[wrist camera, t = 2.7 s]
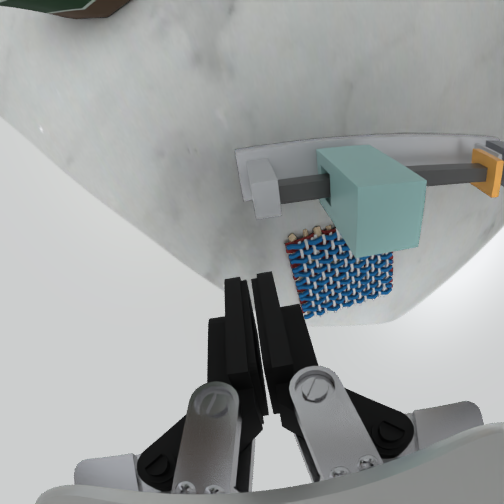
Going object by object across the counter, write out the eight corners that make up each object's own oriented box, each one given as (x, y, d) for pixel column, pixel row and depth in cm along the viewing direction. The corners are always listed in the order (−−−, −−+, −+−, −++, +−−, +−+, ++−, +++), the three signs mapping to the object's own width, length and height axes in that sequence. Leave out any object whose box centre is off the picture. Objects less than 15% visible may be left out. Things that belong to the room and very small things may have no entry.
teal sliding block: (368, 144, 19) (426, 180, 13) (368, 195, 21) (417, 246, 15) (316, 148, 19) (357, 187, 13) (319, 201, 21) (355, 258, 15)
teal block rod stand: (496, 137, 21) (549, 163, 14) (492, 171, 23) (542, 203, 17) (234, 149, 22) (237, 184, 15) (243, 196, 24) (249, 249, 17)
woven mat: (389, 284, 31) (396, 295, 30) (301, 311, 32) (305, 324, 31) (387, 202, 26) (397, 211, 24) (280, 232, 27) (284, 243, 25)
